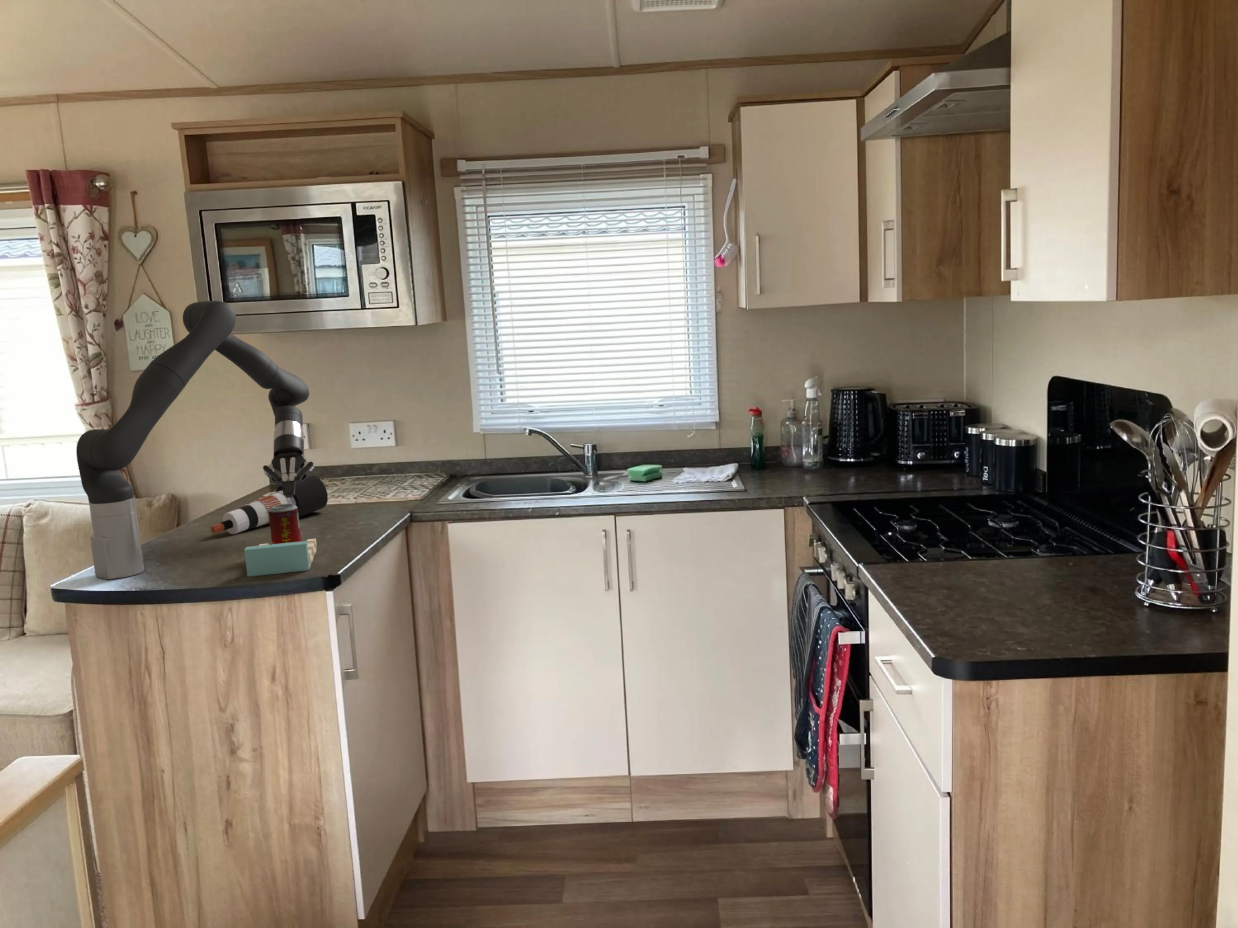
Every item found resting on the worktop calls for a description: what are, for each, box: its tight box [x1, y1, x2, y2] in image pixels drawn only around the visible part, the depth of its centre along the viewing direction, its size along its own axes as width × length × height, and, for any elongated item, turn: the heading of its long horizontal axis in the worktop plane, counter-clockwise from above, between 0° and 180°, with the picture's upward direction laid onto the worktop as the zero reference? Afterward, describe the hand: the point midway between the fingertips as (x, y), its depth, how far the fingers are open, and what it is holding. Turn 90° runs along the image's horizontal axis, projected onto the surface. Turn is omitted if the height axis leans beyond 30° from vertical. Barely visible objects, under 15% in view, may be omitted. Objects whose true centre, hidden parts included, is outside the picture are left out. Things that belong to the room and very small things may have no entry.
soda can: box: [268, 504, 302, 544], centre depth 236 cm, size 7×7×12 cm
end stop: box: [244, 540, 311, 577], centre depth 219 cm, size 3×13×6 cm, turn 102°
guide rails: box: [258, 538, 318, 567], centre depth 229 cm, size 19×13×2 cm
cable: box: [209, 474, 329, 535], centre depth 271 cm, size 10×34×10 cm, turn 146°
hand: (288, 495), depth 249 cm, fingers closed
